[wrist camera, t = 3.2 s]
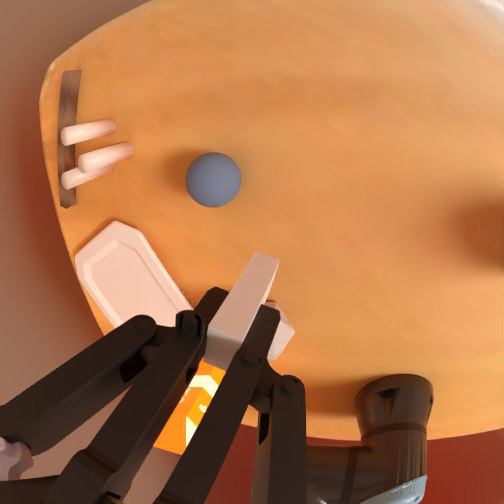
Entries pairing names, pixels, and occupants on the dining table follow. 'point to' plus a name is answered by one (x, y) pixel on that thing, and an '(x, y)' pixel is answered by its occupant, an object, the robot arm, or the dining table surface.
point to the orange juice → (190, 409)
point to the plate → (128, 277)
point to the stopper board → (65, 120)
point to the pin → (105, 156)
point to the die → (280, 333)
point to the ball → (213, 179)
